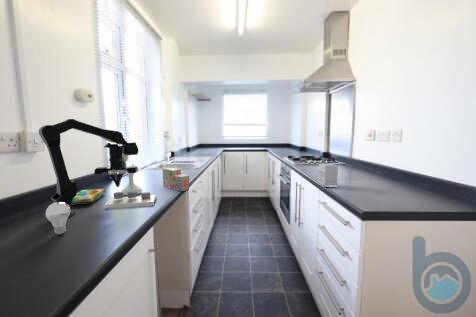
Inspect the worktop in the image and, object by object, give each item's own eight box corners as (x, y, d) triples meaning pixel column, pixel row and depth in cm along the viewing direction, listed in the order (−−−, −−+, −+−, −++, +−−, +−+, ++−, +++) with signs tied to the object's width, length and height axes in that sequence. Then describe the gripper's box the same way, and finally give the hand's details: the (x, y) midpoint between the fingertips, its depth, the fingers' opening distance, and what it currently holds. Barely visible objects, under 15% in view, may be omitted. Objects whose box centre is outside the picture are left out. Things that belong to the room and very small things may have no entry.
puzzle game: (105, 187, 130) (90, 197, 111) (105, 195, 131) (91, 206, 112) (82, 188, 128) (63, 198, 109) (83, 196, 129) (64, 208, 109)
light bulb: (52, 240, 76) (49, 206, 74) (44, 235, 79) (41, 203, 78) (76, 232, 82) (73, 201, 80) (67, 228, 85) (64, 198, 84)
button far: (149, 198, 116) (149, 194, 115) (140, 199, 115) (140, 194, 114) (151, 196, 120) (150, 191, 120) (142, 196, 119) (142, 192, 119)
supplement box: (330, 184, 155) (331, 163, 153) (337, 187, 146) (338, 165, 144) (317, 184, 154) (318, 163, 152) (324, 188, 145) (325, 165, 143)
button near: (122, 198, 113) (122, 193, 112) (112, 199, 112) (112, 194, 111) (124, 196, 117) (124, 191, 117) (115, 196, 116) (115, 192, 116)
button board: (153, 205, 112) (153, 201, 111) (104, 208, 107) (104, 204, 107) (156, 198, 123) (156, 194, 123) (112, 201, 118) (112, 197, 118)
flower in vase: (137, 190, 140) (135, 151, 137) (145, 194, 132) (143, 152, 129) (115, 194, 131) (112, 152, 128) (122, 198, 123) (119, 153, 120)
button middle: (136, 197, 114) (135, 193, 114) (126, 198, 113) (126, 193, 113) (137, 195, 118) (137, 190, 118) (129, 195, 117) (128, 191, 117)
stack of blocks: (189, 189, 142) (189, 170, 141) (181, 191, 138) (180, 172, 136) (171, 184, 156) (170, 167, 155) (163, 186, 152) (162, 168, 150)
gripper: (139, 154, 122) (140, 182, 123) (101, 155, 117) (103, 184, 119) (134, 156, 111) (136, 187, 113) (92, 157, 107) (95, 189, 108)
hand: (118, 186), depth 113 cm, fingers closed
